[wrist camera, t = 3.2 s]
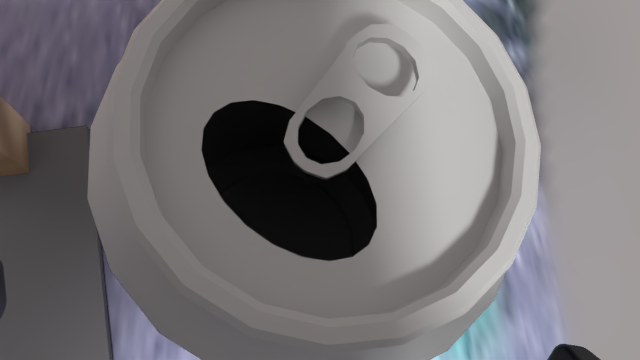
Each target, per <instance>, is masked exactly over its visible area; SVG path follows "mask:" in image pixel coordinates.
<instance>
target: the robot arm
mask: <svg viewBox="0 0 640 360" xmlns="http://www.w3.org/2000/svg"><path fill="white" fill-rule="evenodd" d="M6 305H7V293H6V284H5V275H4V267H3V263H2V261H1V260H0V320H1V318H2V316H3V314H4V311H5V309H6ZM547 360H600V359H599V358H598V357H596V356H595V355H594V354H593V353H591V352H590V351H589V350H587V349H586V348H584V347H581V346H575V345H569V344H560V345H558V346H556V347H555V348H554V350H553V351H552V353H551V355H550V356H549V358H548V359H547Z"/></svg>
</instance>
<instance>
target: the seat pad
mask: <svg viewBox="0 0 640 360" xmlns="http://www.w3.org/2000/svg"><path fill="white" fill-rule="evenodd" d="M27 146H28V161H29V172H27V173H20V174H13V175H6V176H0V260H1V261H2V263H3V267H4V275H5V284H6V293H7V305H6V309H5V311H4V314H3V316H2V318H1V320H0V360H112V350H111V340H110V330H109V320H108V310H107V300H106V290H105V280H104V271H103V261H102V251H101V241H100V236H99V233H98V230H97V227H96V224H95V221H94V218H93V215H92V211H91V208H90V205H89V202H88V199H87V195H88V173H89V151H90V132H89V129H88V127H87V126H79V127H71V128H63V129H55V130H48V131H40V132H32V133H27Z"/></svg>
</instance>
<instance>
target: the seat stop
mask: <svg viewBox="0 0 640 360" xmlns="http://www.w3.org/2000/svg"><path fill="white" fill-rule="evenodd" d="M27 133H31V126H30V124H29V123H28V122H27V121H26V120H25V119H24V118H23V117H22V116H21V115H20V114H19V113H18V112H17V111H16V110H15V109H14V108H13V107H11V106H10V105H9V104H8V103H7V102H6V101H5V100H4V99H3V98H2V97H1V96H0V176H6V175H13V174H20V173H27V172H29V161H28V146H27Z"/></svg>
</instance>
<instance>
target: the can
mask: <svg viewBox="0 0 640 360" xmlns="http://www.w3.org/2000/svg"><path fill="white" fill-rule="evenodd" d="M540 151H541V144H540V140H539V136H538V132H537V128H536V124H535V119H534V115H533V111H532V107H531V103H530V99H529V94H528V90H527V87H526V85H525V83H524V82H523V80H522V78H521V76H520V75H519V73H518V71H517V69H516V68H515V66H514V64H513V62H512V60H511V59H510V57H509V55H508V53H507V52H506V50H505V48H504V46H503V45H502V43H501V41H500V39H499V38H498V36H497V35H496V34H495V33H494V32H493V31H492V30H491V29H490V28H489V27H488V26H487V25H486V24H485V23H484V21H483V20H482V19H481V18H480V17H479V16H478V15H477V14H476V13H475V12H474V11H473V10H472V9H471V8H470V7H469V6H468V5H467V4H466V3H465V2H464V1H463V0H161V1H160V2H159V3H158V4H157V5H156V6H155V7H154V8H153V10H152V11H151V12H150V13H149V14H148V15H147V16H146V17H145V18H144V19H143V20H142V22H141V23H140V24H139V25H138V26H137V27H136V28H135V29H134V30H133V33H132V35H131V38H130V40H129V42H128V45H127V47H126V50H125V52H124V54H123V57H122V59H121V61H120V62H119V63H118V64H117V65H116V68H115V70H114V73H113V75H112V77H111V80H110V82H109V85H108V87H107V89H106V92H105V94H104V97H103V99H102V101H101V104H100V106H99V109H98V111H97V113H96V116H95V118H94V120H93V123H92V125H91V129H90V151H89V173H88V195H87V199H88V202H89V205H90V208H91V211H92V215H93V218H94V221H95V224H96V227H97V230H98V233H99V236H100V240H101V243H102V246H103V249H104V252H105V255H106V258H107V261H108V264H109V268H110V271H111V272H112V273H113V274H114V276H115V277H116V278H117V280H118V281H119V282H120V283H121V285H122V286H123V287H124V288H125V290H126V291H127V292H128V294H129V295H130V296H131V297H132V299H133V300H134V301H135V303H136V304H137V305H138V306H139V308H140V309H141V310H142V312H143V313H144V314H145V315H146V317H147V318H148V319H149V321H150V322H151V323H152V324H153V326H154V327H155V328H156V329H157V331H158V332H159V333H160V334H162V335H163V336H165V337H166V338H168V339H170V340H171V341H173V342H174V343H176V344H178V345H179V346H181V347H182V348H184V349H185V350H187V351H189V352H190V353H192V354H193V355H195V356H197V357H198V358H200V359H201V360H430V359H432V358H434V357H436V356H438V355H440V354H442V353H444V352H446V351H448V350H449V349H450V347H451V346H452V345H453V344H454V343H455V342H456V341H457V340H458V339H459V338H460V337H461V336H462V334H463V333H464V332H465V331H466V330H467V329H468V328H469V327H470V326H471V325H472V324H473V323H474V321H475V320H476V319H477V318H478V317H479V316H480V315H481V314H482V313H483V312H484V311H485V310H486V308H487V307H488V306H489V305H490V304H491V303H492V302H493V301H494V299H495V297H496V295H497V292H498V290H499V288H500V285H501V283H502V281H503V278H504V276H505V274H506V271H507V269H508V268H509V267H510V266H511V265H512V263H513V261H514V259H515V256H516V254H517V252H518V249H519V247H520V245H521V242H522V240H523V238H524V235H525V233H526V231H527V228H528V226H529V223H530V221H531V219H532V216H533V214H534V212H535V209H536V207H537V194H538V180H539V166H540Z"/></svg>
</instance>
